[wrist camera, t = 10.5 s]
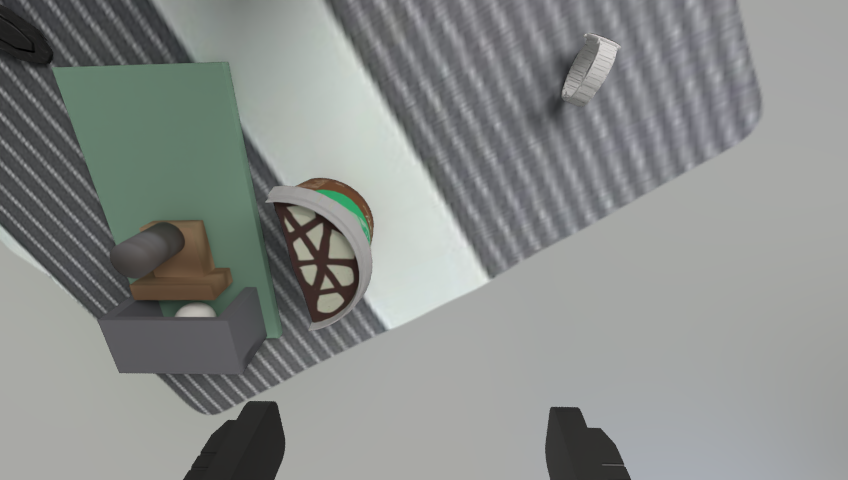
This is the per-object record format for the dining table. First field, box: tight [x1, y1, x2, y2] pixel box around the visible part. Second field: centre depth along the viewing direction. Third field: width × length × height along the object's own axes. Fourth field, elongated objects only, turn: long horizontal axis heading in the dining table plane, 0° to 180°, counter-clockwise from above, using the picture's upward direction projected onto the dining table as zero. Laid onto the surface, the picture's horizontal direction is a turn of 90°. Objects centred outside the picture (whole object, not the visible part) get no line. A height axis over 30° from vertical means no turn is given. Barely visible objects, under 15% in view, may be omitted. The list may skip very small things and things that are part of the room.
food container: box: [265, 178, 374, 331], centre depth 35 cm, size 12×6×10 cm, turn 10°
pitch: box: [52, 62, 283, 338], centre depth 40 cm, size 28×15×1 cm, turn 2°
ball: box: [174, 302, 217, 317], centre depth 42 cm, size 4×4×4 cm
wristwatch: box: [561, 33, 621, 107], centre depth 31 cm, size 3×5×5 cm, turn 160°
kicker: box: [110, 220, 233, 300], centre depth 37 cm, size 7×8×7 cm
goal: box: [98, 287, 267, 374], centre depth 41 cm, size 6×12×6 cm, turn 92°
